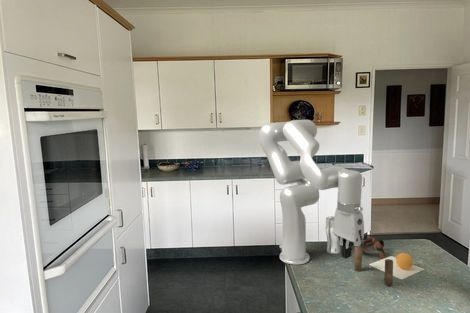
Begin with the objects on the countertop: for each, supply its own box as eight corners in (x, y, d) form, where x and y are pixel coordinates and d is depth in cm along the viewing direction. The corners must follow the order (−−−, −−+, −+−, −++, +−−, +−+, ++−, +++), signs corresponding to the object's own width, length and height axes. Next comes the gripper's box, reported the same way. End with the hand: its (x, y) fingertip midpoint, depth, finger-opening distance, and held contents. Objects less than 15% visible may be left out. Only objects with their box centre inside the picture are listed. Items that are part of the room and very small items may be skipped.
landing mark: (369, 264, 129) (369, 264, 129) (391, 256, 135) (391, 255, 135) (401, 279, 117) (401, 279, 117) (424, 269, 123) (424, 269, 123)
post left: (353, 269, 125) (353, 247, 124) (357, 267, 127) (357, 246, 126) (358, 272, 123) (358, 249, 122) (363, 270, 124) (363, 248, 123)
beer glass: (342, 254, 138) (343, 221, 136) (326, 254, 140) (326, 221, 138) (340, 248, 145) (341, 216, 143) (324, 247, 147) (325, 215, 145)
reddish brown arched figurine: (380, 263, 131) (369, 245, 132) (362, 265, 138) (352, 248, 139) (394, 248, 137) (384, 231, 138) (377, 250, 145) (367, 234, 146)
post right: (382, 284, 114) (383, 260, 113) (387, 282, 115) (388, 258, 114) (389, 287, 112) (390, 263, 111) (394, 285, 113) (394, 261, 112)
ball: (405, 258, 129) (397, 269, 127) (398, 248, 127) (390, 259, 126) (419, 262, 124) (411, 274, 122) (412, 252, 122) (403, 264, 120)
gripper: (374, 210, 105) (371, 263, 108) (339, 199, 118) (337, 246, 121) (359, 215, 101) (356, 268, 104) (324, 202, 114) (322, 250, 117)
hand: (346, 256), depth 112 cm, fingers closed
